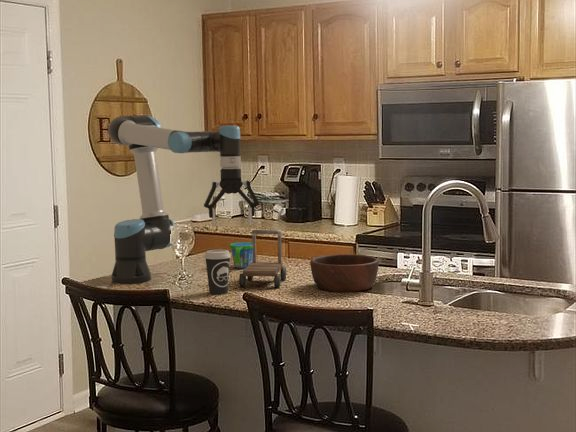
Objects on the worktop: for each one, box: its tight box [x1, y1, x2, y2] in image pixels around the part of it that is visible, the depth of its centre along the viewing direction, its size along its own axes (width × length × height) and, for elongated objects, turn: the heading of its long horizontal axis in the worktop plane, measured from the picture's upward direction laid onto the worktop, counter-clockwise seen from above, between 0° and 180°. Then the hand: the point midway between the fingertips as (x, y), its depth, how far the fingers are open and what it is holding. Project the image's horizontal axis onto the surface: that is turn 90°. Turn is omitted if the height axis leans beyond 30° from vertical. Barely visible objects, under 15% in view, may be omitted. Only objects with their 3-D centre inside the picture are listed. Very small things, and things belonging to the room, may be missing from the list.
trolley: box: [238, 229, 287, 288], centre depth 290 cm, size 19×14×19 cm
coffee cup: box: [203, 249, 232, 296], centre depth 275 cm, size 10×10×15 cm
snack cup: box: [229, 241, 253, 270], centre depth 326 cm, size 16×10×10 cm
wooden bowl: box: [309, 253, 380, 293], centre depth 282 cm, size 25×25×10 cm
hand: (232, 225), depth 283 cm, fingers open, 13 cm apart
